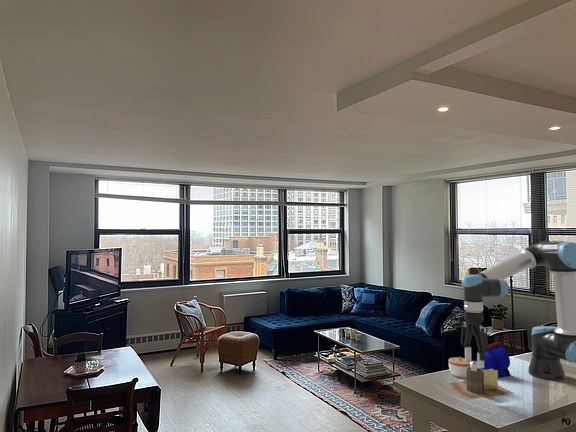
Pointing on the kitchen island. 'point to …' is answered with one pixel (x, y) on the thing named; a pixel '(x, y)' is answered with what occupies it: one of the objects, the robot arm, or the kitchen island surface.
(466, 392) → the jig
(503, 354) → the alarm clock
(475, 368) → the pin
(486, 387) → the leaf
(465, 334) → the robot arm
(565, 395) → the kitchen island surface
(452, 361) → the lidded jar
